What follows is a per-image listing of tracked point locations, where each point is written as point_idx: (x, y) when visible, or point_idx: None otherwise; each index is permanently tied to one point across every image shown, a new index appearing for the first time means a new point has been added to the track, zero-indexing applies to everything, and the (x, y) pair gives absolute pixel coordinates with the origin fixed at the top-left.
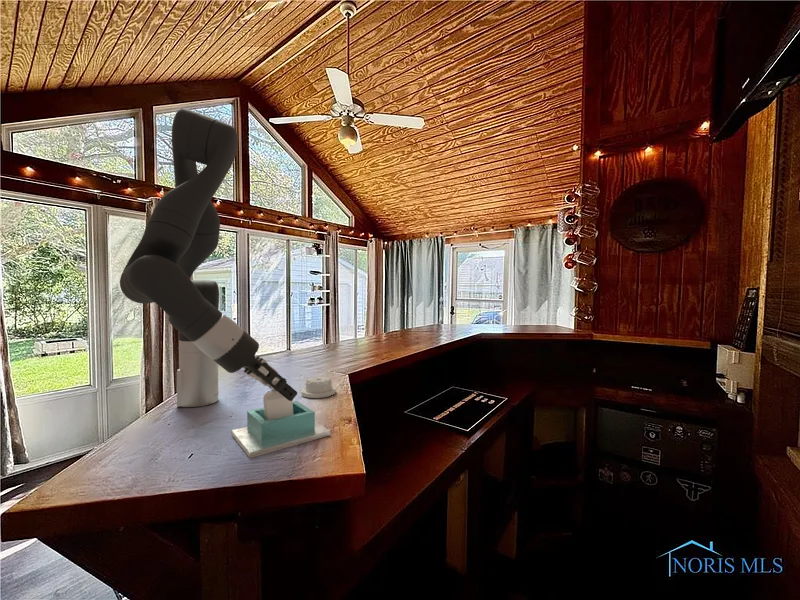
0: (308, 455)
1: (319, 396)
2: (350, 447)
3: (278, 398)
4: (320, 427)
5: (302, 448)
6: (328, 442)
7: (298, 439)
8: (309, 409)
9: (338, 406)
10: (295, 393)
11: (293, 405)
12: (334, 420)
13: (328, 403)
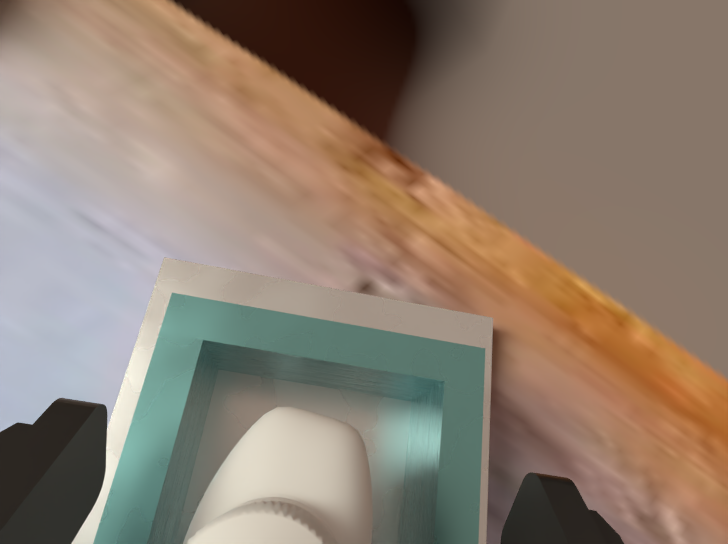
0: None
1: None
2: (647, 345)
3: None
4: (423, 324)
5: None
6: (547, 379)
7: (485, 504)
8: (417, 342)
9: (182, 60)
10: (601, 518)
11: (205, 347)
12: (335, 194)
13: (92, 55)
